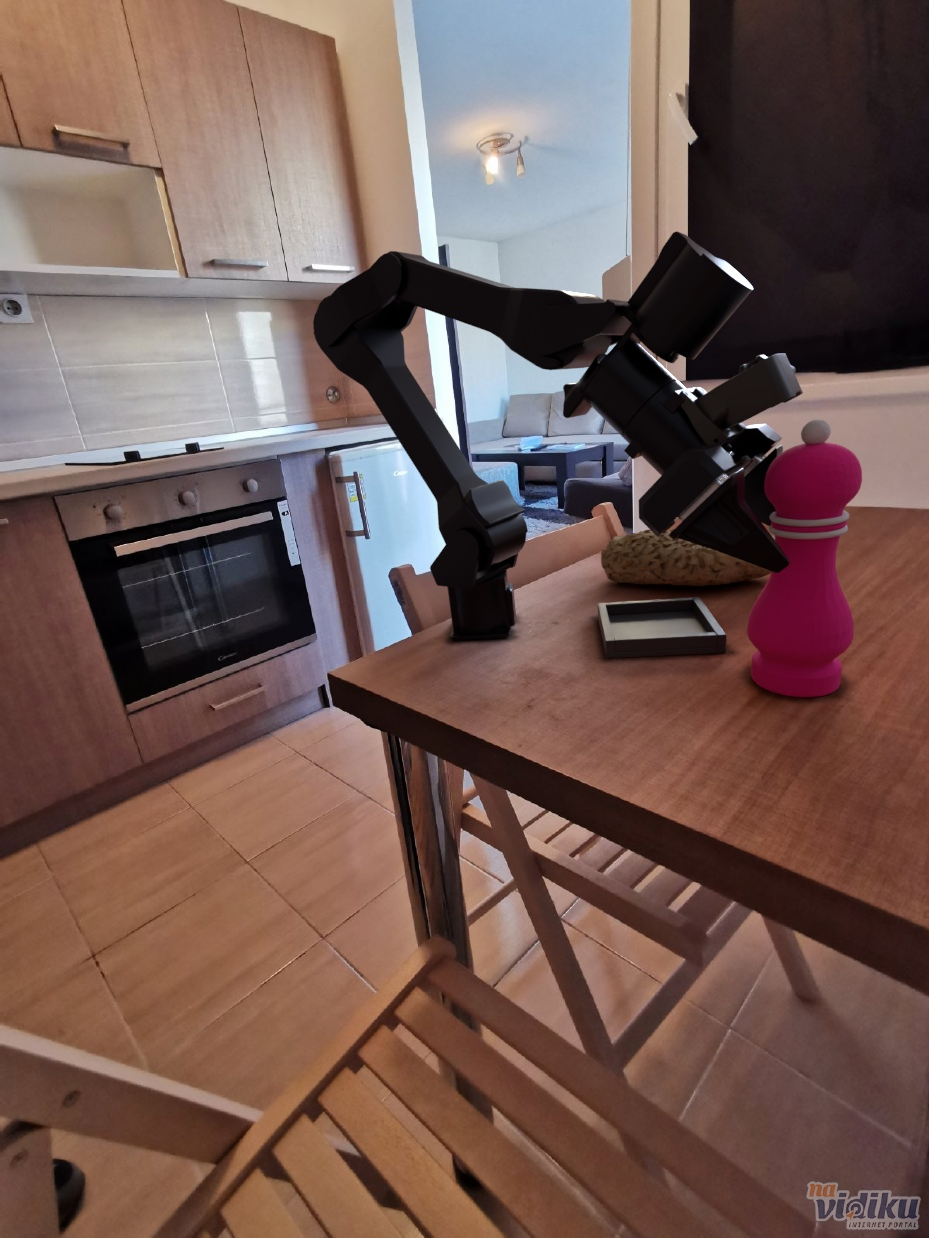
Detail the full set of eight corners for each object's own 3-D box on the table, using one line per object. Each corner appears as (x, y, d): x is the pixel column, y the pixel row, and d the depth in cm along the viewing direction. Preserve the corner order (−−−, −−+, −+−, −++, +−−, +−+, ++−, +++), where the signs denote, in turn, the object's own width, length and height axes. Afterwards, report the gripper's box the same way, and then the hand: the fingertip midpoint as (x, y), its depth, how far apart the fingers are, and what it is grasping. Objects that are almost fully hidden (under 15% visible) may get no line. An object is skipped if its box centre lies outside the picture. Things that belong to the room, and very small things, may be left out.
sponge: (598, 600, 74) (771, 584, 60) (590, 538, 73) (762, 507, 60) (645, 588, 83) (803, 571, 70) (638, 533, 83) (795, 505, 69)
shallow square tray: (606, 658, 55) (605, 640, 54) (598, 618, 65) (597, 603, 64) (726, 652, 53) (726, 634, 53) (699, 612, 63) (699, 596, 62)
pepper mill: (848, 667, 48) (880, 410, 41) (845, 708, 43) (881, 419, 36) (751, 656, 52) (765, 419, 45) (737, 692, 46) (750, 428, 40)
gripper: (685, 313, 35) (891, 498, 32) (759, 321, 48) (908, 452, 45) (573, 456, 42) (731, 617, 39) (664, 428, 56) (787, 547, 53)
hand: (796, 551), depth 44 cm, fingers open, 9 cm apart
